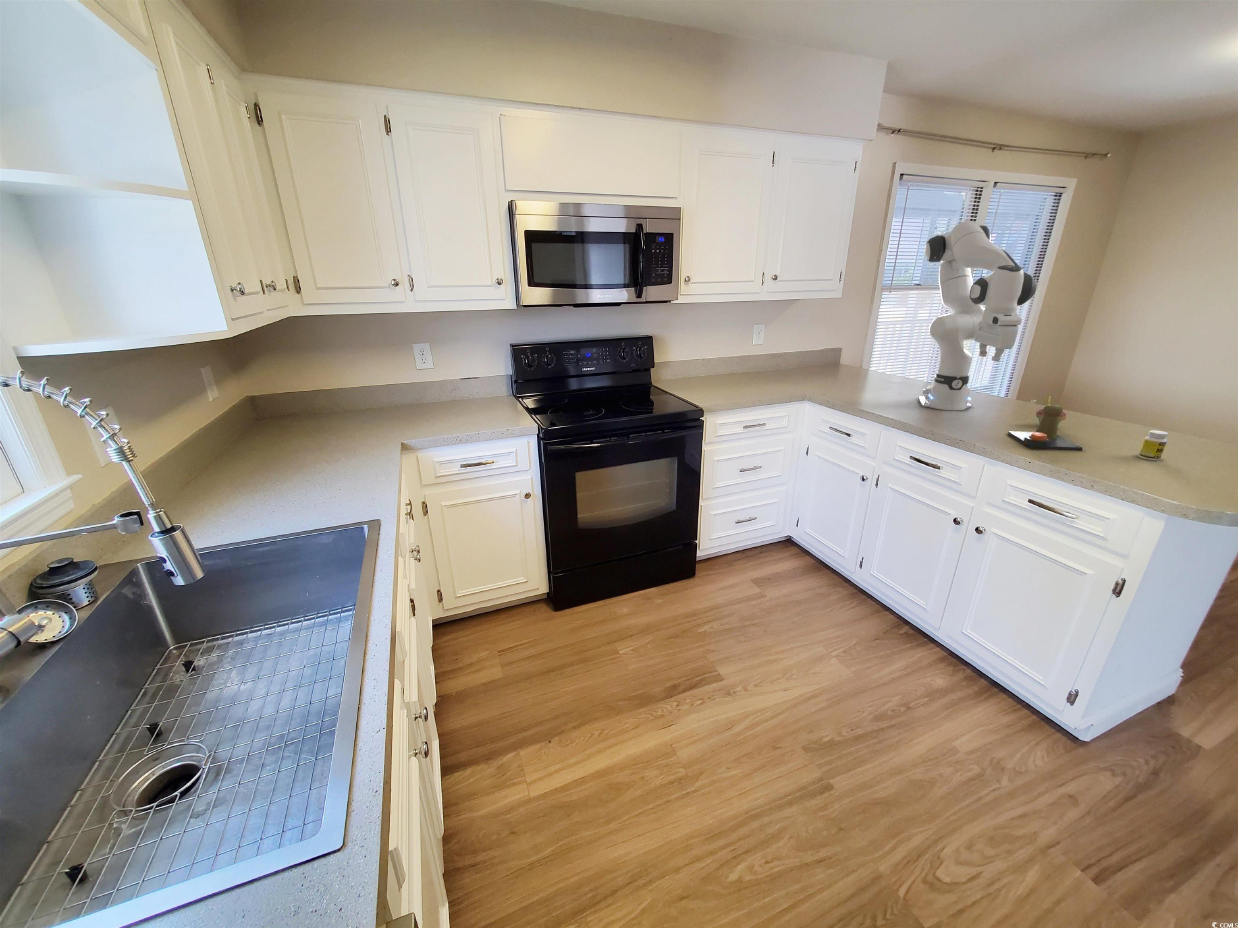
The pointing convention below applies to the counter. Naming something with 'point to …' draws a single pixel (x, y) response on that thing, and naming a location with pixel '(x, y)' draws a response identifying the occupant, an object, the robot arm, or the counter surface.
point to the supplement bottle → (1153, 445)
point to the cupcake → (1040, 414)
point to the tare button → (1038, 436)
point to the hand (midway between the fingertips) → (988, 358)
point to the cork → (1050, 421)
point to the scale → (1044, 442)
